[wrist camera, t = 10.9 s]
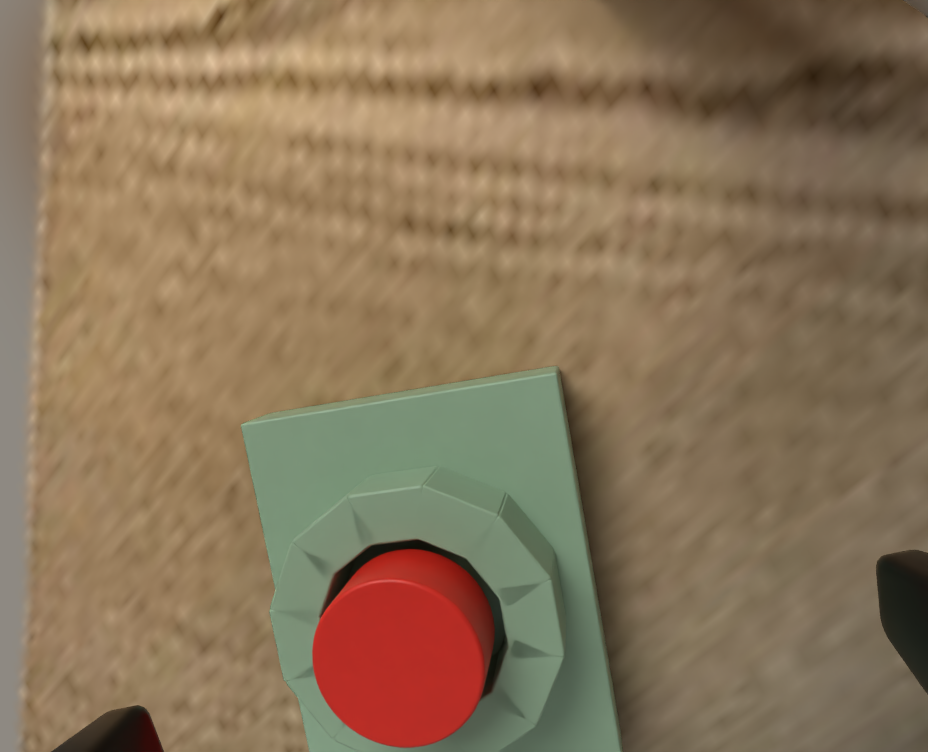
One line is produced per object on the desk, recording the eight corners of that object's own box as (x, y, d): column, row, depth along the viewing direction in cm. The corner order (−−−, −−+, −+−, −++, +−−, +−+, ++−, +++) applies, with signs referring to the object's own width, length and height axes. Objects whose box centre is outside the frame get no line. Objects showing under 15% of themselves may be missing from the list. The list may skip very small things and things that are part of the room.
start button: (507, 693, 15) (499, 743, 13) (356, 705, 16) (329, 755, 14) (479, 538, 15) (467, 569, 13) (326, 557, 15) (294, 588, 14)
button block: (621, 733, 18) (632, 836, 14) (339, 752, 19) (288, 850, 16) (558, 365, 17) (554, 381, 14) (269, 413, 19) (199, 438, 15)
